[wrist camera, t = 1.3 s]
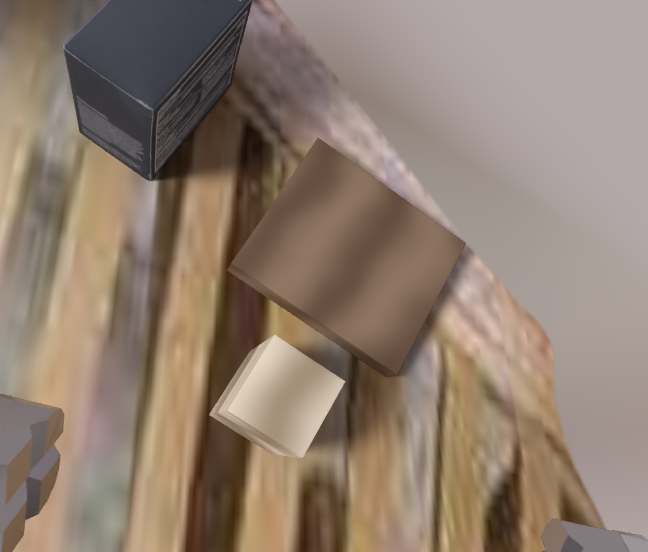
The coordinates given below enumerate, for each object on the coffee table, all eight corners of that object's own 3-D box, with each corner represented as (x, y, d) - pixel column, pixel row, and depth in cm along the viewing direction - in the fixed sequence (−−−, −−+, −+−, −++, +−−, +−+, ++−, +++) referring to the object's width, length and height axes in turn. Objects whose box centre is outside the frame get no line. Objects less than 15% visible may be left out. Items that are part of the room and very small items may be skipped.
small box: (162, 32, 47) (172, -73, 37) (233, 84, 48) (261, -5, 38) (72, 129, 43) (55, 41, 33) (151, 184, 44) (157, 113, 34)
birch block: (209, 414, 41) (227, 410, 34) (249, 352, 43) (274, 334, 36) (271, 453, 42) (302, 458, 34) (308, 390, 43) (345, 381, 36)
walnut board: (226, 270, 44) (231, 263, 42) (310, 149, 48) (318, 137, 46) (385, 376, 45) (396, 374, 44) (453, 250, 50) (465, 243, 48)
